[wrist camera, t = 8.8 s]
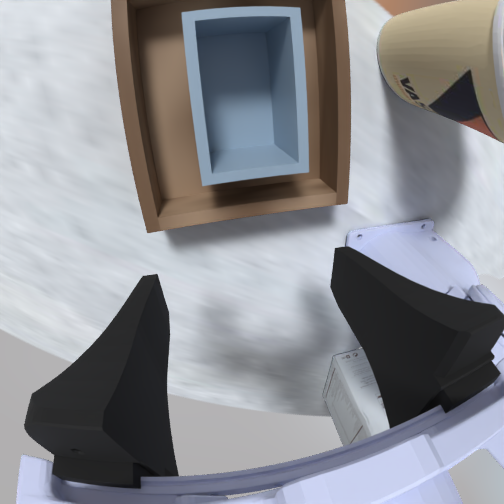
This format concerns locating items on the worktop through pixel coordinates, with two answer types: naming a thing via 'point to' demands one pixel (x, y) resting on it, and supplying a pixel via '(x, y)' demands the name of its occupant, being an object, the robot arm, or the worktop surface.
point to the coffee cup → (449, 61)
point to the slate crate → (247, 91)
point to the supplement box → (354, 398)
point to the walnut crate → (181, 120)
